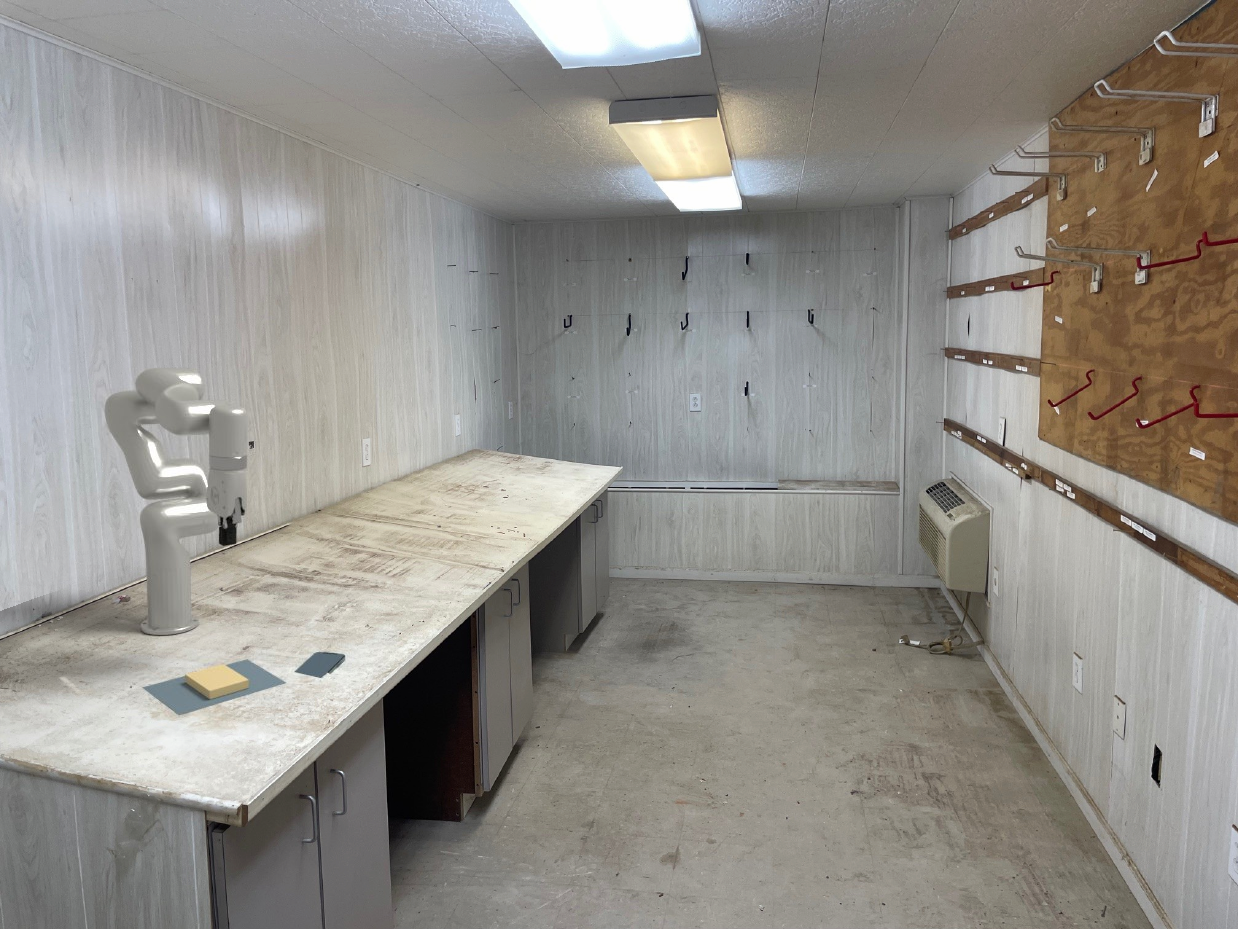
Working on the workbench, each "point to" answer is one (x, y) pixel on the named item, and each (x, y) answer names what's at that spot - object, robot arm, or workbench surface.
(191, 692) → the rubber mat
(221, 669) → the beige rectangular block
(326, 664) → the smartphone
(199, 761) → the workbench surface
